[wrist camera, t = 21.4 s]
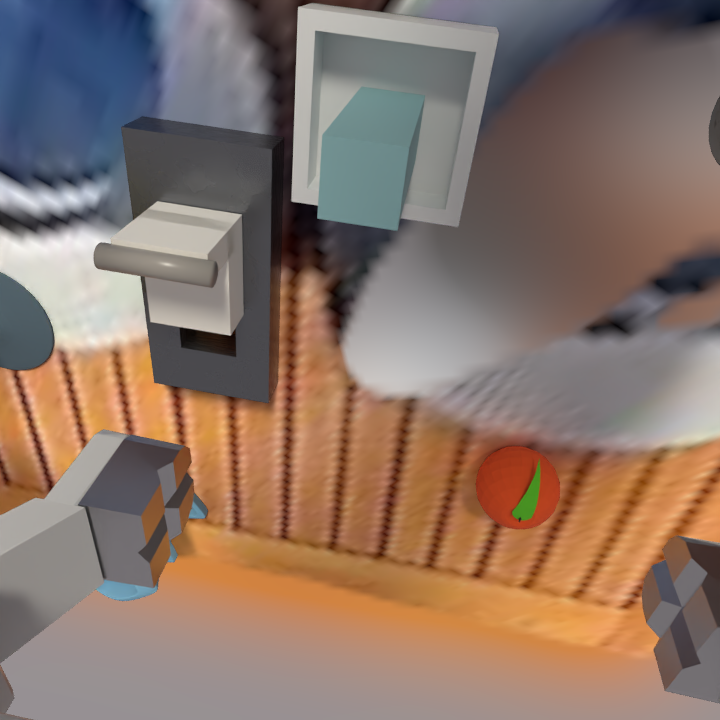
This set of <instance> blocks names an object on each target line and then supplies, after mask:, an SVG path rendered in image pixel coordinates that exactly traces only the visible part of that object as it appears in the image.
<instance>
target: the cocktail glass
mask: <svg viewBox="0 0 720 720" xmlns="http://www.w3.org/2000/svg"><path fill="white" fill-rule="evenodd" d="M53 344H54V335H53V330H52V326H51V324H50V321H49V318H48V316H47V315H46V313H45V311H44V309H43V308H42V306H41V305H40V304H39V302H38V301H37V300H36V299H35V298H34V296H33V295H32V294H31V293H30V292H29V291H27V290H26V289H25V288H24V287H23V286H22V285H20V284H19V283H18V282H16V281H15V280H13V279H12V278H10V277H8V276H7V275H5V274H3V273H1V272H0V367H3V368H7V369H14V370H26V369H31V368H34V367H37V366H39V365H41V364H42V363H43V362H45V360H46V359H47V358H48V357H49V356H50V354H51V351H52V349H53Z"/></svg>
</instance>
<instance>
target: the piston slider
mask: <svg viewBox="0 0 720 720" xmlns="http://www.w3.org/2000/svg"><path fill="white" fill-rule="evenodd" d="M110 239H111V244H108V243H102V242H101V243H99V244H98V245H97V246H96V248H95V251H94V264H95V266H96V268H98V269H101V270H107V271H113V272H119V273H125V274H131V275H137V276H143V277H145V282H146V290H147V298H148V306H149V314H150V322H154V323H160V324H165V325H171V326H177V327H183V328H189V329H195V330H200V331H206V332H212V333H218V334H224V335H229V336H231V334H232V333H233V331H234V330H235V328H236V326H237V325H238V323H239V322H240V320H241V318H242V317H243V315H244V304H243V243H242V214H235V213H229V212H223V211H216V210H210V209H204V208H197V207H191V206H185V205H178V204H172V203H166V202H159V201H157V202H156V203H155V204H153V205H152V206H151V207H149V208H148V209H147V210H146V211H144V212H143V213H142V214H141V215H139V216H138V217H137V218H136V219H134V220H133V221H132V222H131V223H129V224H128V225H127V226H126V227H124V228H123V229H122V230H120V231H119V232H118V233H117V234H115V235H114V236H113V237H112V238H110Z"/></svg>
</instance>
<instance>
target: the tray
mask: <svg viewBox="0 0 720 720" xmlns="http://www.w3.org/2000/svg"><path fill="white" fill-rule="evenodd" d="M498 36H499V33H498V30H497V28H496V27H490V26H482V25H475V24H467V23H460V22H452V21H445V20H437V19H429V18H422V17H414V16H407V15H399V14H392V13H384V12H377V11H369V10H361V9H354V8H346V7H339V6H331V5H324V4H316V3H310V4H307V5H304V6H301V7H298V27H297V56H296V85H295V114H294V143H293V172H292V202H299V203H305V204H311V205H318V197H319V180H320V163H321V146H322V135H323V133H324V132H325V131H326V130H327V128H328V127H329V126H330V125H331V123H332V122H333V121H334V120H335V119H336V117H337V116H338V115H339V114H340V112H341V111H342V110H343V109H344V107H345V106H346V105H347V104H348V102H349V101H350V100H351V99H352V98H353V96H354V95H355V94H356V93H357V91H358V90H359V89H360V88H361V86H362V87H369V88H376V89H383V90H391V91H398V92H405V93H412V94H420V95H425V101H424V108H423V114H422V121H421V128H420V134H419V141H418V147H417V154H416V160H415V164H414V168H413V172H412V176H411V180H410V184H409V188H408V191H407V195H406V199H405V203H404V207H403V211H402V215H401V218H402V219H408V220H414V221H421V222H427V223H434V224H441V225H447V226H453V227H458V226H459V222H460V217H461V212H462V207H463V203H464V198H465V193H466V187H467V183H468V178H469V174H470V169H471V164H472V160H473V155H474V150H475V145H476V141H477V136H478V131H479V126H480V122H481V117H482V112H483V107H484V103H485V98H486V93H487V88H488V84H489V79H490V74H491V69H492V65H493V60H494V55H495V50H496V46H497V41H498Z"/></svg>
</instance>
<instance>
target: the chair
mask: <svg viewBox="0 0 720 720" xmlns="http://www.w3.org/2000/svg"><path fill="white" fill-rule="evenodd" d="M192 508H193V509H191V511H190V514H189V518H201V519H203V518H205V517H206V515H207V512H208V510H207V508H206V506H205V505H204V504H203V503H202V501H201V500H200V499H199V498H198V497H197V495H196V494H195V493H194V496H193V504H192ZM169 544H170V552H171V555H170V557H169V559H168V561H167V562H175V560H176V558H177V556H178V554H177V552H176V550H175V548H174V546H173V545H172V543H171V540H170V541H169ZM158 581H159V579H158ZM158 581H157V583H156V585H155V587H154V588H149V587H143V586H137V585H131V584H126V583H120V582H114V581H108V580H104V583H103V584H102V585H101V586H100V587H98V588H97V589H96V590H97V591H99V592H100V593H102V594H103V595H105V596H107V597H109V598H112V599H114V600H119V601H129V600H135V599H139V598H142V597H145V596H148V595H151V594H153V593H155V592H156V591H157V589H158Z"/></svg>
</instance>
